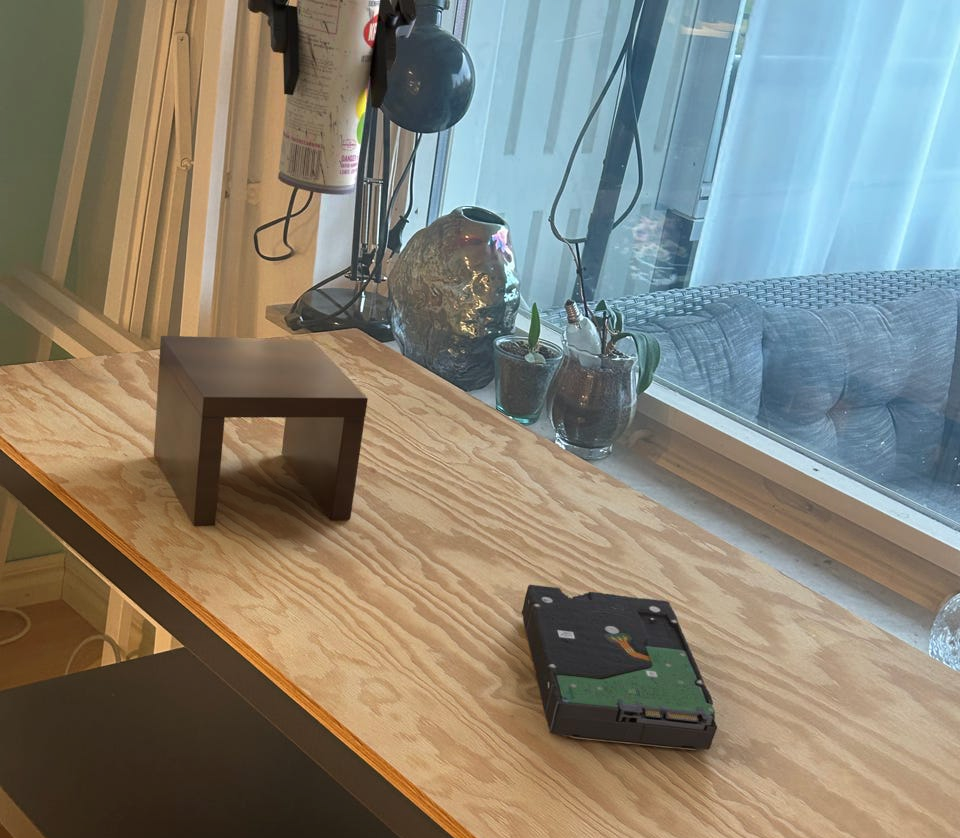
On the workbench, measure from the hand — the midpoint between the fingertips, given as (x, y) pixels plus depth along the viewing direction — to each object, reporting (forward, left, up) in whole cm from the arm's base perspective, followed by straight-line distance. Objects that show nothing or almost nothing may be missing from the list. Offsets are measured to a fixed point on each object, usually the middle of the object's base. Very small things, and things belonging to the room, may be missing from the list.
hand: (336, 91), depth 111 cm
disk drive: (+52, +3, -26) cm, 59 cm away
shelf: (+22, -12, -26) cm, 36 cm away
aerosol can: (-3, +1, -9) cm, 9 cm away
